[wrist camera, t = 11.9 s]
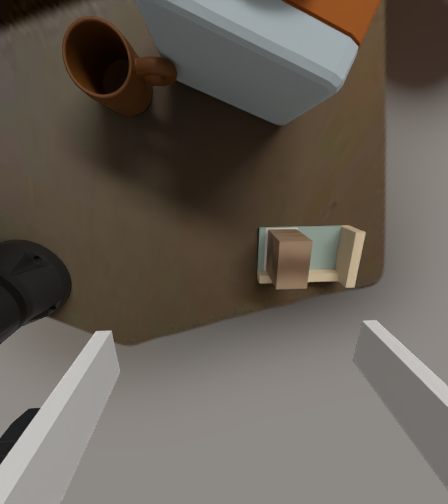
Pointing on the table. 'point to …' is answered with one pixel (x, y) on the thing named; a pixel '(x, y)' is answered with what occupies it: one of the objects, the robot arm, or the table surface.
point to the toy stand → (322, 253)
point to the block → (288, 258)
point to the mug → (112, 66)
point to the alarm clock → (261, 49)
